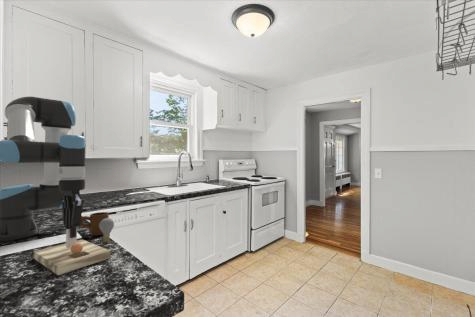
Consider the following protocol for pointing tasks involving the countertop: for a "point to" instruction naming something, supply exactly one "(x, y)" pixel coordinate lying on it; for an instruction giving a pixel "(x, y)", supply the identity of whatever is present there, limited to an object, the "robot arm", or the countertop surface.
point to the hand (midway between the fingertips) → (71, 246)
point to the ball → (76, 248)
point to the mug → (94, 222)
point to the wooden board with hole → (70, 257)
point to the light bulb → (106, 228)
